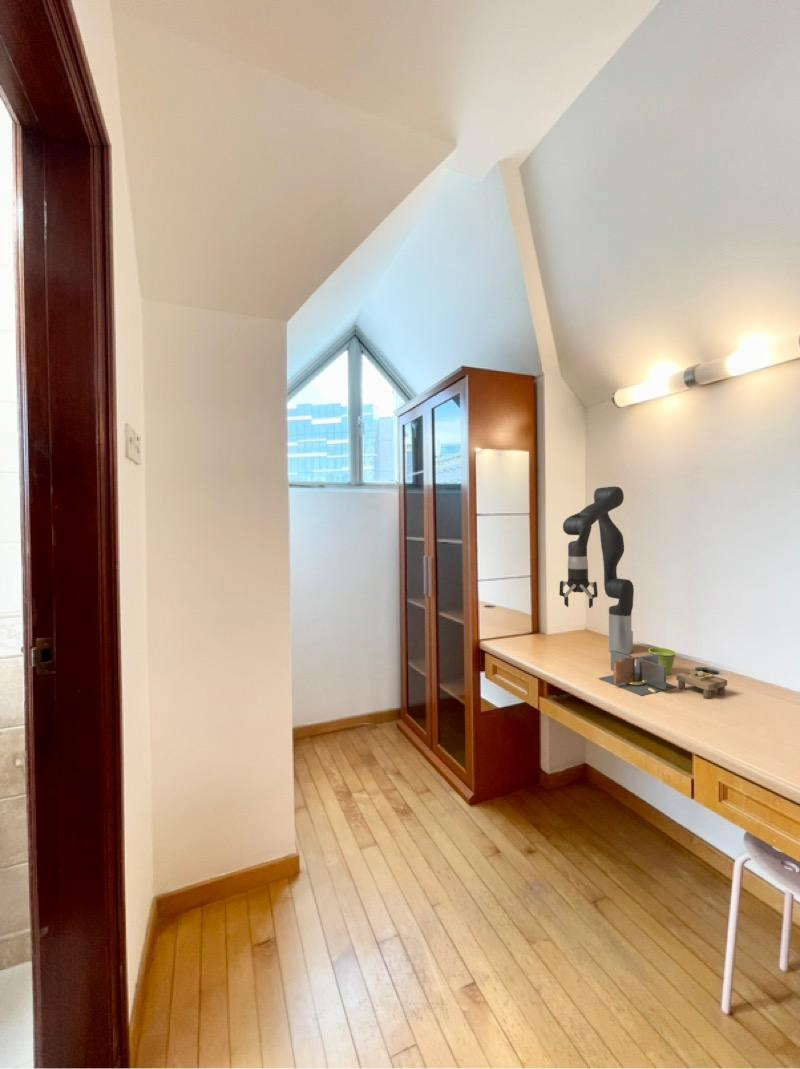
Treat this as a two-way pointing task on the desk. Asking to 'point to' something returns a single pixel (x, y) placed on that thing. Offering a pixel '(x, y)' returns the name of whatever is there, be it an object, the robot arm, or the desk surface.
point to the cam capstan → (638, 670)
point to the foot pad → (635, 689)
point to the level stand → (702, 682)
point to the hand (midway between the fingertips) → (578, 606)
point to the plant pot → (664, 658)
